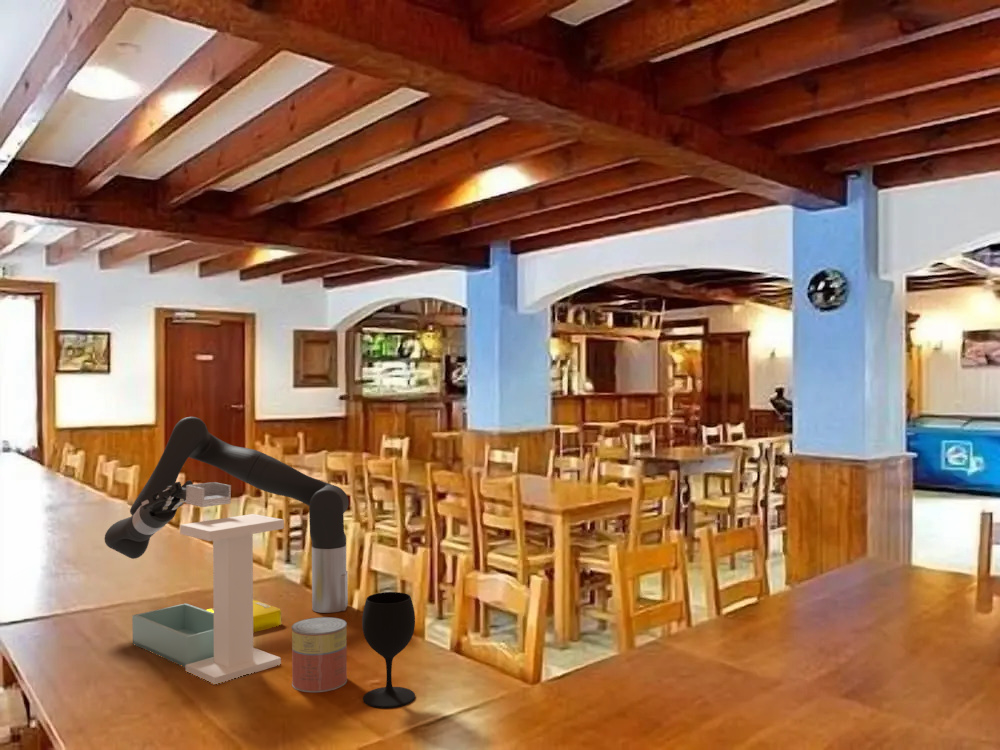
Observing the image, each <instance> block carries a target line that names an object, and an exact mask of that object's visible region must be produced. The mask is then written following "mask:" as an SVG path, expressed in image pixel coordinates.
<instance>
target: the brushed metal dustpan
mask: <svg viewBox="0 0 1000 750" xmlns="http://www.w3.org/2000/svg"><path fill="white" fill-rule="evenodd" d="M170 487H171V486H167V488H170ZM231 495H232V485H231V484H225V483H222V482H221V483H220V482H217V481H214V482H213V481H212V482H203V483H193V485H186V487H182V490H181V491H180V492H179V493H178V494H177V495H176V496H173V497H176V498H180V499H185V500H186V502H185V504H187V505H191V506H195V507H199V508H207V507H213V506H214V507H215V506H221V505H222V506H223V505H228V504H231V503H232V502H231V500H232V499H231Z"/></svg>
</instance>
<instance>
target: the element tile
mask: <svg viewBox="0 0 1000 750" xmlns="http://www.w3.org/2000/svg"><path fill="white" fill-rule="evenodd" d="M206 610H207V611H210V612H213V613H214V607H213V608H212V607H211V608H208V609H206ZM279 625H280V626H281V625H282V610H281V609H280V608H279V607H276V606H273V605H270V604H268V603H265V602H262V601H260V600H257V599H253V633H257V632H260V631H265V630H269V629H273V628H277V627H280V626H279ZM276 626H277V627H276ZM272 627H273V628H272Z"/></svg>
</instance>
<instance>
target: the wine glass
mask: <svg viewBox="0 0 1000 750" xmlns="http://www.w3.org/2000/svg"><path fill="white" fill-rule="evenodd" d="M412 600H413V599H412V598H411V596H410V594H408V593H405V592H397V591H388V592H387V591H385V592H378V593H373V594H371V595H369V596H366V599H365V603H364V606H363V611H362V618H361V619H362V620H361V624H362V627H361V628H362V632H363V637H364V639H365V640H366V643H367V644H368V645H369V647H370V648H371V649H372V650H373V651H374V652H375V653H377V654H378V655H380V656H381V657H383V659H384V660H385V666H386V667H385V668H386V681H385V682H386V683H385V686H384V687H376V688H374V689H372V690H369V691H367V692H366V693H364V695H363V697H362V700H363V701H362V702H363V703H364V704H365V705H367V706H369V707H372V708H377V709H396V708H402V707H404V706H407V705H410V704H411V703H413V701H415V699H416V693H415V692H414V691H413V690H412V689H410V688H406V687H403V686H393V683H392V682H393V681H392V679H393V678H392V669H393V667H392V666H393V659H394V658H395V657H396V656H397V655H398V654H400V653H401V652H402V651H403V650H404V649H406V647H407V646H408V644H409V643H410V641H411V640H412V637H413V635H414V634H415V633H414V632H415V627H416V615H415V613H416V612H415V607H414V605H413V604H414V602H413V601H412Z"/></svg>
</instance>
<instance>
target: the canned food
mask: <svg viewBox="0 0 1000 750" xmlns="http://www.w3.org/2000/svg"><path fill="white" fill-rule="evenodd" d="M347 625H348V622H347V621H346V620H344V619H343V618H338V617H331V616H330V617H327V616H322V617H320V616H319V617H311V618H310V617H309V618H305V619H301V620H298V621H296V622H295V623H293V624H292V625H291V648H292V649H291V650H292V653H291V657H292V659H291V662H292V667H291V668H292V670H291V671H292V672H291V673H292V675H291V677H292V680H291V681H292V682H291V686H292V688H293V689H295V690H296V691H298V692H304V693H324V692H329V691H330V692H331V691H333V690H337V689H339V688H341V687H343V686H344V685H346V684H347V682H348V675H347V673H348V672H347V665H348V664H347V662H348V661H347V660H348V659H347Z"/></svg>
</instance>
